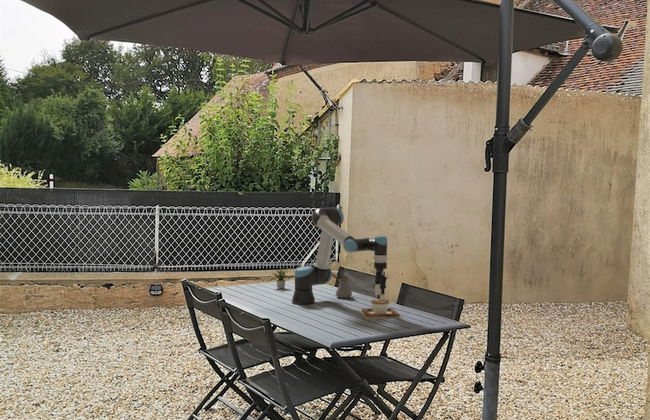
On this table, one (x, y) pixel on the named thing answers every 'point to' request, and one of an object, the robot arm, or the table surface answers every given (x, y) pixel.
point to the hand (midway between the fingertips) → (379, 297)
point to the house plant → (280, 278)
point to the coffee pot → (343, 288)
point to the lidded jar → (380, 306)
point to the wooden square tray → (370, 314)
